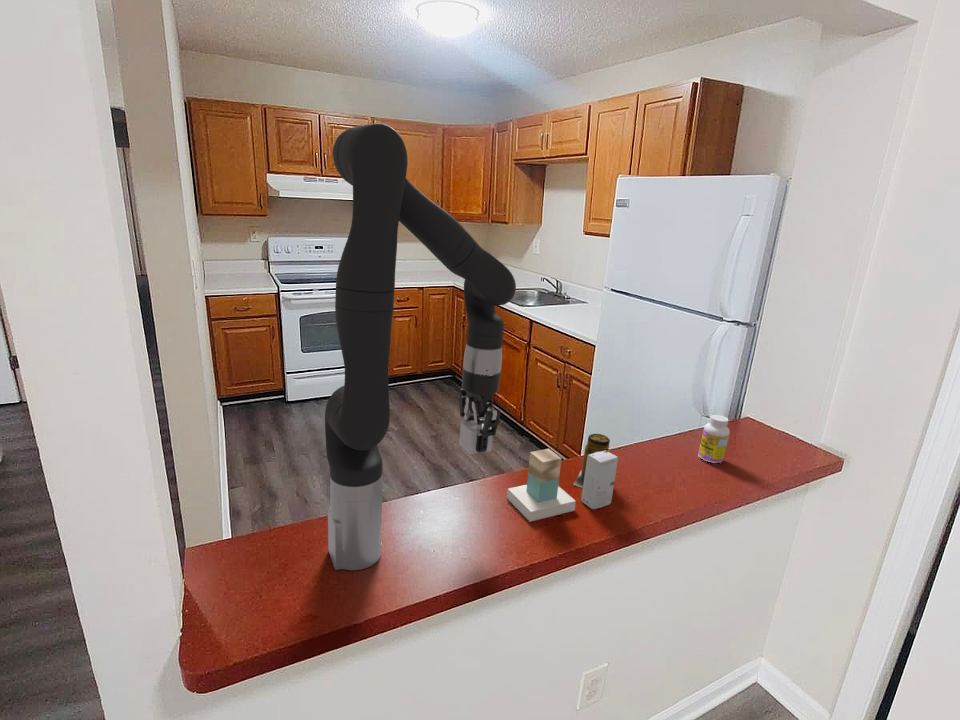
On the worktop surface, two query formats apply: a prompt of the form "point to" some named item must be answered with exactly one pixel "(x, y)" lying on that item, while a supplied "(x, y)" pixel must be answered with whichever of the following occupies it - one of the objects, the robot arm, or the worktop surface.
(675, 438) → the worktop surface
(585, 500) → the skincare box
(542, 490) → the teal block
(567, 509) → the baseplate
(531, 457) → the maple block
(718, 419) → the supplement bottle
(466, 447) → the grey block
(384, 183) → the robot arm
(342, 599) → the worktop surface
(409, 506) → the worktop surface
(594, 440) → the condiment
